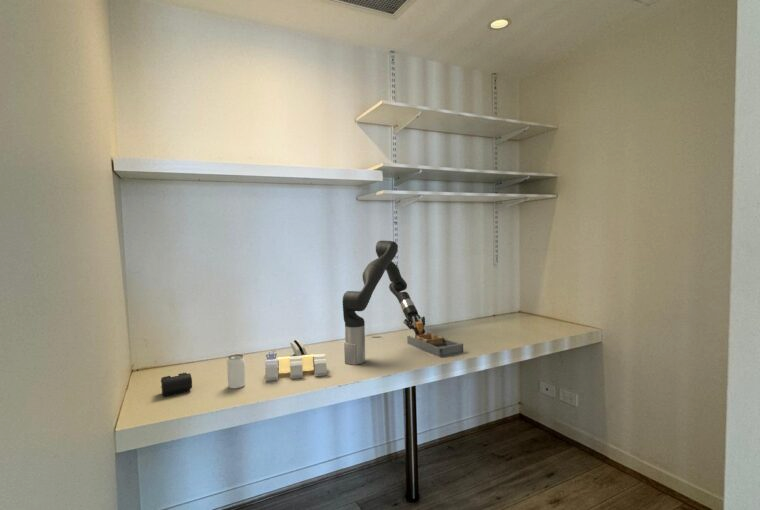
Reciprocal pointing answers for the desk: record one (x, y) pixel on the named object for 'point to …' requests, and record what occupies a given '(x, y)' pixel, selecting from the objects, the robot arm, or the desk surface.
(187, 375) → the end cap
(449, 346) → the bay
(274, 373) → the diorama
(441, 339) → the crate
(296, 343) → the hinge
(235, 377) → the can
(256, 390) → the desk surface
